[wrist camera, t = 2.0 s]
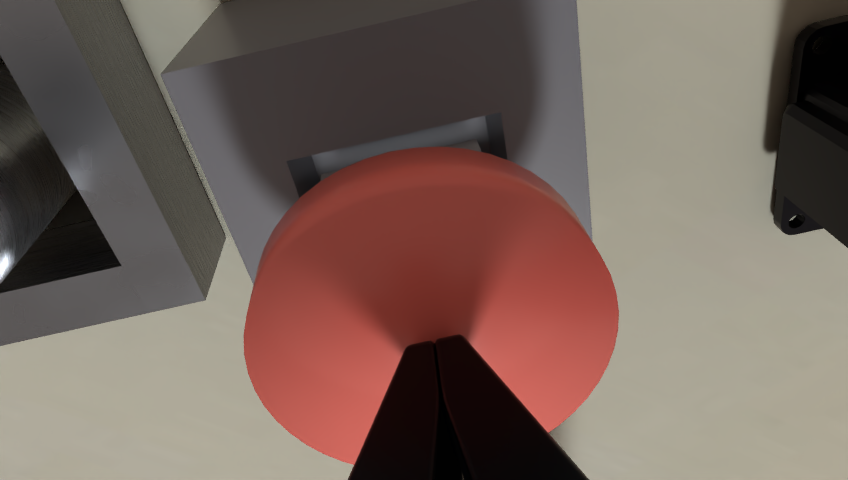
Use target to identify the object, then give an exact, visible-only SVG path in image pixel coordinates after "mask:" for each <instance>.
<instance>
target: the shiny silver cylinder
mask: <svg viewBox="0 0 848 480" xmlns="http://www.w3.org/2000/svg"><path fill="white" fill-rule="evenodd" d="M76 190H77V187H76V186H75V184H74V182H73V180H72V179H71V177H70V175H69V174H68V172H67V170H66V168H65V167H64V165H63V163H62V161H61V160H60V158H59V156H58V154H57V153H56V151H55V149H54V147H53V146H52V144H51V142H50V141H49V139H48V137H47V135H46V134H45V132H44V130H43V128H42V127H41V125H40V123H39V121H38V120H37V118H36V116H35V114H34V113H33V111H32V109H31V107H30V106H29V104H28V102H27V101H26V99H25V97H24V95H23V94H22V92H21V90H20V88H19V87H18V85H17V83H16V81H15V80H14V78H13V76H12V74H11V73H10V71H9V69H8V68H7V66H6V65H1V64H0V284H1V282H2V281H3V280H4V279H5V278H6V276H7V275H8V274H9V273H10V271H11V270H12V269H13V268H14V266H15V265H16V264H17V263H18V261H19V260H20V259H21V258H22V257H23V255H24V254H25V253H26V252H27V250H28V249H29V248H30V247H31V245H32V244H33V243H34V242H35V240H36V239H37V238H38V237H39V236H40V234H41V233H42V232H43V231H44V229H45V228H46V227H47V226H48V224H49V223H50V222H51V221H52V219H53V218H54V217H55V216H56V215H57V213H58V212H59V211H60V210H61V208H62V207H63V206H64V205H65V203H66V202H67V201H68V200H69V198H70V197H71V196H72V195H73V194H74V192H75V191H76Z"/></svg>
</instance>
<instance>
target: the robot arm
mask: <svg viewBox="0 0 848 480" xmlns="http://www.w3.org/2000/svg"><path fill="white" fill-rule="evenodd" d="M820 37H822V42H821V44H820V45H819V46H818V48H817V49H815V50H813V49H812V47H813V45H814V42H815V41H816V40H817V39H818V38H820ZM775 188H776V190H777V193H776V201H775V210H774V218H773V219H774V224H775V225H776V226H777V227H778V228H779V229H780V230H781V231H782V232H783V233H785V234H788V235H795V234H800V233H804V232H809V231H813V230H818V229H823V228H824V229H825V230H827V231H828V232H829V233H830V234H831V235H833V236H834V237H835V238H836V239H838V240H839V241H840V242H841V243H842V244H844V245H845V246H846V247H847V248H848V15H846V16H842V17H837V18H833V19H829V20H824V21H820V22H816V23H813V24H811V25H808V26H807V27H806V28H805V29H803V30H802V31H801V32H800V34H799V35H798V37H797V38H796V41H795V45H794V52H793V60H792V68H791V76H790V85H789V93H788V101H787V108H786V110H785V111H784V113H783V118H782V127H781V135H780V144H779V152H778V161H777V169H776V178H775ZM795 215H796V217H795V218H794V219H793V220H791V221H790V219H791V218H792V217H793V216H795ZM463 478H464V480H589V479H588V478H587V477H586V476H585V474H584V473H583V472H582V471H581V470H580V469H579V468H578V466H577V465H576V464H575V463H574V462H573V461H572V459H571V458H570V457H569V456H568V455H567V454H566V453H565V451H564V450H563V449H562V448H561V447H560V446H559V445H558V443H557V442H556V441H555V440H554V439H553V438H552V437H551V435H550V434H549V433H548V432H547V431H546V430H545V429H544V427H543V426H542V425H541V424H540V423H539V422H538V421H537V419H536V418H535V417H534V416H533V415H532V414H531V413H530V411H529V410H528V409H527V408H526V407H525V406H524V405H523V403H522V402H521V401H520V400H519V399H518V398H517V397H516V395H515V394H514V393H513V392H512V391H511V390H510V389H509V387H508V386H507V385H506V384H505V383H504V382H503V381H502V379H501V378H500V377H499V376H498V375H497V374H496V373H495V371H494V370H493V369H492V368H491V367H490V366H489V365H488V363H487V362H486V361H485V360H484V359H483V358H482V357H481V355H480V354H479V353H478V352H477V351H476V350H475V348H474V347H473V346H472V345H471V344H470V343H469V342H468V340H467V339H466V338H465V337H464V336H462V335H460V334H457V335H452V336H448V337H443V338H439V339H437V340H436V342H435V344H434V342H433V341H425V342H420V343H416V344H411V345H408V346H407V347H406V348H405V350H404V352H403V354H402V357H401V359H400V361H399V364H398V366H397V368H396V370H395V373H394V375H393V377H392V380H391V382H390V384H389V386H388V389H387V391H386V393H385V396H384V398H383V400H382V402H381V405H380V407H379V409H378V412H377V414H376V416H375V418H374V421H373V423H372V425H371V428H370V430H369V432H368V435H367V437H366V439H365V441H364V444H363V446H362V448H361V451H360V453H359V455H358V457H357V460H356V462H355V464H354V467H353V469H352V471H351V473H350V476H349V478H348V480H463Z"/></svg>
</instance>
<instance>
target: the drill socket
mask: <svg viewBox="0 0 848 480" xmlns="http://www.w3.org/2000/svg"><path fill="white" fill-rule="evenodd" d="M0 55H1V57H2V59H3V61H4V62H5V64H6V66H7V68H8V69H9V71H10V73H11V74H12V76H13V78H14V80H15V81H16V83H17V85H18V87H19V88H20V90H21V92H22V94H23V95H24V97H25V99H26V101H27V102H28V104H29V106H30V107H31V109H32V111H33V113H34V114H35V116H36V118H37V120H38V121H39V123H40V125H41V127H42V128H43V130H44V132H45V134H46V135H47V137H48V139H49V141H50V142H51V144H52V146H53V147H54V149H55V151H56V153H57V154H58V156H59V158H60V160H61V161H62V163H63V165H64V167H65V168H66V170H67V172H68V174H69V175H70V177H71V179H72V180H73V182H74V184H75V186H76V187H77V189H78V191H79V193H80V194H81V196H82V198H83V200H84V201H85V203H86V205H87V207H88V208H89V210H90V212H91V213H92V215H93V217H94V219H95V220H91V221H86V222H82V223H78V224H73V225H69V226H64V227H60V228H56V229H51V230H47V231H43V232H42V233H41V234H40V236H39V237H38V238H37V239H36V240H35V242H34V243H33V244H32V245H31V247H30V248H29V249H28V250H27V252H26V253H25V254H24V255H23V257H22V258H21V259H20V260H19V261H18V263H17V264H16V265H15V266H14V268H13V269H12V270H11V271H10V273H9V274H8V275H7V276H6V278H5V279H4V280H3V281H2V282H1V284H0V346H2V345H6V344H11V343H15V342H20V341H24V340H29V339H33V338H38V337H42V336H47V335H51V334H56V333H60V332H65V331H69V330H74V329H78V328H83V327H87V326H92V325H96V324H101V323H105V322H110V321H114V320H119V319H123V318H128V317H132V316H137V315H141V314H146V313H150V312H155V311H159V310H164V309H168V308H173V307H177V306H182V305H186V304H191V303H195V302H200V301H204V300H206V297H207V294H208V291H209V288H210V285H211V282H212V279H213V276H214V273H215V270H216V267H217V263H218V260H219V257H220V254H221V251H222V248H223V245H224V242H225V239H226V237H225V235H224V233H223V230H222V228H221V226H220V224H219V221H218V219H217V217H216V215H215V213H214V210H213V208H212V206H211V204H210V201H209V199H208V197H207V195H206V193H205V190H204V188H203V186H202V184H201V181H200V179H199V177H198V175H197V173H196V170H195V168H194V166H193V164H192V161H191V159H190V157H189V155H188V153H187V150H186V148H185V146H184V144H183V141H182V139H181V137H180V135H179V132H178V130H177V128H176V126H175V124H174V121H173V119H172V117H171V115H170V112H169V110H168V108H167V106H166V104H165V101H164V99H163V97H162V95H161V92H160V90H159V88H158V86H157V84H156V81H155V79H154V77H153V75H152V72H151V70H150V68H149V66H148V64H147V61H146V59H145V57H144V55H143V52H142V50H141V48H140V46H139V44H138V41H137V39H136V37H135V35H134V32H133V30H132V28H131V26H130V24H129V21H128V19H127V17H126V15H125V12H124V10H123V8H122V6H121V4H120V1H119V0H0Z"/></svg>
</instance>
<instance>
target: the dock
mask: <svg viewBox="0 0 848 480" xmlns="http://www.w3.org/2000/svg"><path fill="white" fill-rule="evenodd" d="M161 77H162V79H163V81H164V83H165V86H166V88H167V90H168V92H169V95H170V97H171V99H172V102H173V104H174V106H175V108H176V111H177V113H178V115H179V117H180V120H181V122H182V124H183V126H184V129H185V131H186V133H187V135H188V138H189V140H190V142H191V144H192V147H193V149H194V151H195V153H196V156H197V158H198V160H199V163H200V165H201V167H202V169H203V172H204V174H205V176H206V178H207V181H208V183H209V185H210V187H211V190H212V192H213V194H214V196H215V199H216V201H217V203H218V205H219V208H220V210H221V212H222V214H223V217H224V219H225V221H226V224H227V226H228V228H229V230H230V233H231V235H232V237H233V239H234V242H235V244H236V246H237V248H238V251H239V253H240V255H241V257H242V260H243V262H244V264H245V266H246V269H247V271H248V273H249V276H250V278H251V280H252V282H253V285H254V281H255V277H256V273H257V268H258V265H259V262H260V259H261V256H262V253H263V249H264V247H265V245H266V243H267V241H268V239H269V237H270V235H271V233H272V231H273V230H274V228H275V227H276V225H277V224H278V223H279V221H280V220H281V218H282V217H283V216H284V214H285V213H286V212H287V211H288V210H289V209H290V208H291V207H292V206H293V204H294V203H295V202H296V201H297V200H298V199H299V198H300V197H301V196H302V195H304V194H305V193H306V192H307V191H309V190H310V189H311V188H313V187H314V186H315V185H316V184H318V183H319V182H320V181H321V174H324V173H329V172H333V171H338V170H341V169H343V168H345V167H347V166H349V165H352V164H354V163H356V162H359V161H361V160H363V159H366V158H370V157H373V156H377V155H380V154H383V153H387V152H391V151H397V150H403V149H409V148H418V147H443V146H447V145H452V144H456V143H461V142H465V141H469V140H474V139H477V142H478V144H479V147H480V149H481V152H484V153H489V154H492V155H494V156H497V157H500V158H503V159H506V160H509V161H512V162H513V163H515V164H517V165H519V166H521V167H523V168H525V169H527V170H529V171H531V172H533V173H534V174H535V175H537V176H538V177H540V178H541V179H543V180H544V181H545V182H547V183H548V184H549V185H551V186H552V187H553V188H554V189H555V190H556V191H557V192H558V193H559V194H560V195H561V196H562V197H563V198H564V199H565V200H566V202H567V203H568V204H569V206H570V207H571V208H572V210H573V211H574V212H575V214H576V215H577V217H578V219H579V220H580V222H581V224H582V225H583V227H584V229H585V230H586V232H587V234H588V235H589V237H590V239H591V240H592V227H591V212H590V197H589V182H588V167H587V152H586V137H585V122H584V107H583V92H582V77H581V62H580V47H579V32H578V18H577V3H576V0H233V1H229V2H225V3H221V4H220V5H219V6H218V7H217V8H216V9H215V10H214V12H213V13H212V14H211V15H210V16H209V18H208V19H207V20H206V21H205V22H204V23H203V25H202V26H201V27H200V28H199V29H198V31H197V32H196V33H195V34H194V35H193V36H192V38H191V39H190V40H189V41H188V42H187V44H186V45H185V46H184V47H183V48H182V49H181V51H180V52H179V53H178V54H177V55H176V57H175V58H174V59H173V60H172V61H171V62H170V64H169V65H168V66H167V67H166V68H165V70H164V71H163V72H162V73H161Z"/></svg>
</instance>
